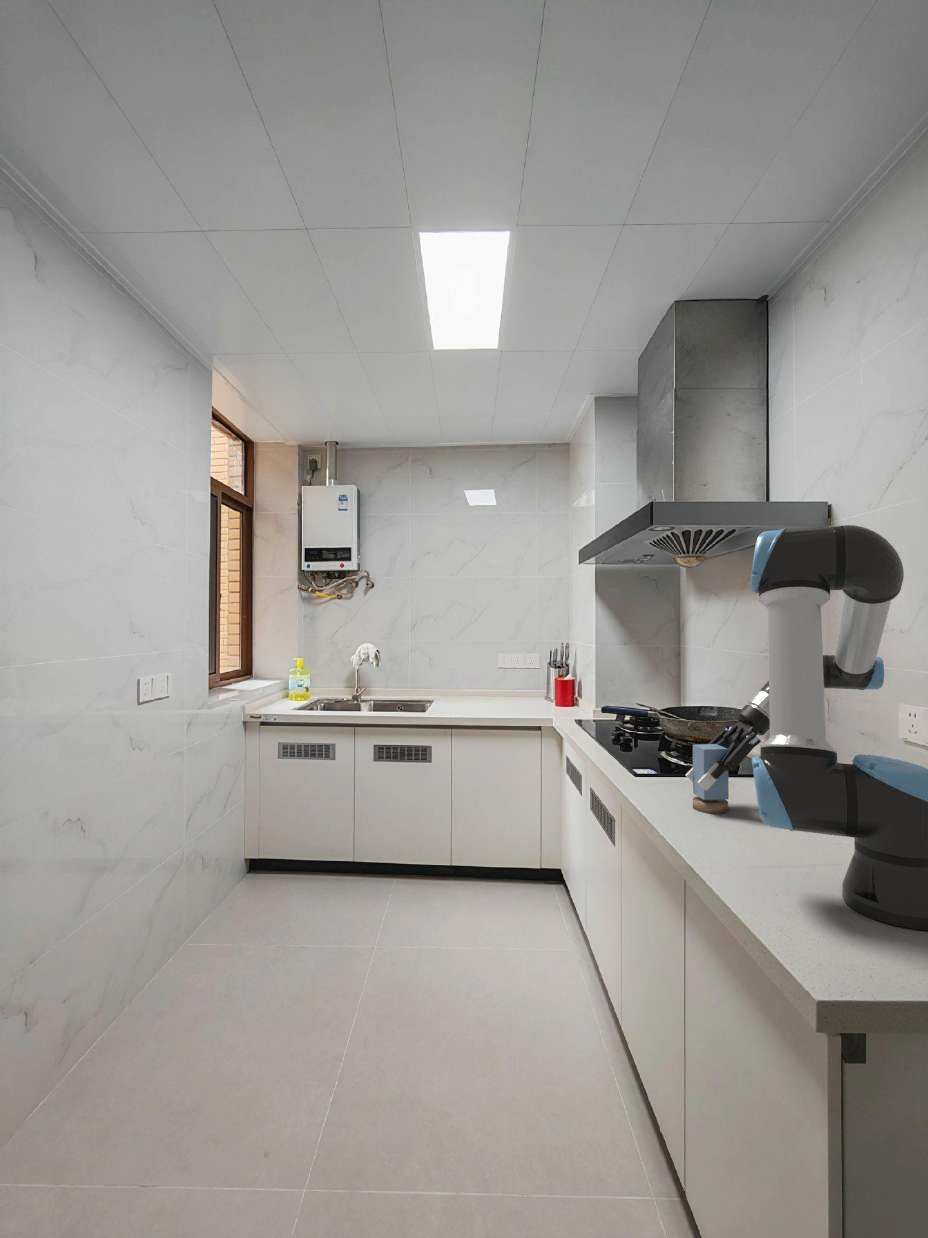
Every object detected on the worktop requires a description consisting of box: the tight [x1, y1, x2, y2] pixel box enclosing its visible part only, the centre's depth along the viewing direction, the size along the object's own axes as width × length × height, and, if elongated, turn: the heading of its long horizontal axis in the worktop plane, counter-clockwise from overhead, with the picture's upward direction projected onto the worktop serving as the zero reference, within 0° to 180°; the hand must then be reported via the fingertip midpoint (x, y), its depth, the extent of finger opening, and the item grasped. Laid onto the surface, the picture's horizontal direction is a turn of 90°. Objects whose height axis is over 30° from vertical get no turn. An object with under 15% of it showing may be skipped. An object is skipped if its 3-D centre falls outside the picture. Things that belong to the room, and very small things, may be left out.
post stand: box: [692, 795, 729, 815], centre depth 151 cm, size 8×8×8 cm
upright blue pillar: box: [692, 743, 730, 800], centre depth 151 cm, size 6×6×12 cm
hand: (695, 782), depth 151 cm, fingers closed on upright blue pillar, 6 cm apart
